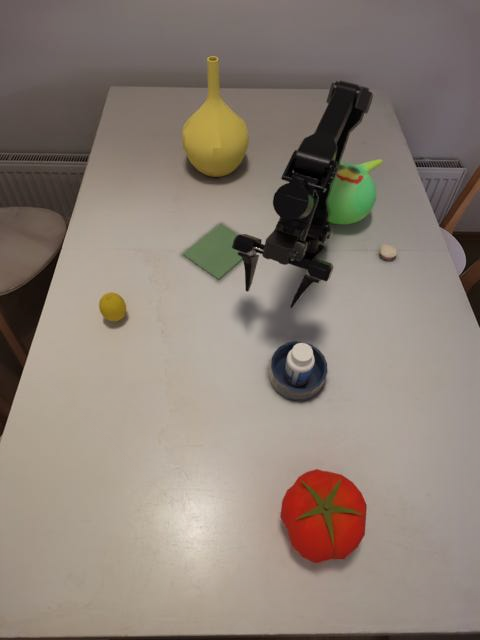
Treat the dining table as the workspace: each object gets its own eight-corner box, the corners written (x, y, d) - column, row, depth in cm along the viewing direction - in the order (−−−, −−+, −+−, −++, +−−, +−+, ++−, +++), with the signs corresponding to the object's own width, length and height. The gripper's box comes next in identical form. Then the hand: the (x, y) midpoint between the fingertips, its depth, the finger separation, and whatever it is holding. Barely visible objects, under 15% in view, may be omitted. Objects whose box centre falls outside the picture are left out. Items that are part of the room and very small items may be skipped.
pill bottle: (312, 367, 90) (320, 344, 82) (306, 390, 87) (313, 368, 79) (287, 359, 91) (292, 336, 83) (280, 381, 88) (285, 359, 80)
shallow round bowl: (291, 342, 94) (293, 331, 90) (333, 373, 90) (338, 363, 86) (258, 377, 89) (259, 367, 85) (302, 411, 85) (305, 402, 81)
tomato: (357, 487, 77) (376, 470, 68) (350, 576, 70) (370, 572, 60) (285, 469, 79) (292, 451, 69) (270, 555, 71) (276, 548, 62)
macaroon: (381, 262, 107) (384, 256, 105) (374, 248, 109) (377, 241, 107) (397, 260, 107) (401, 253, 105) (390, 245, 110) (393, 238, 108)
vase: (259, 160, 128) (266, 54, 103) (225, 195, 119) (223, 88, 94) (208, 139, 133) (203, 33, 108) (172, 171, 124) (157, 64, 99)
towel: (220, 224, 113) (220, 223, 113) (255, 247, 109) (256, 246, 108) (183, 255, 107) (182, 253, 107) (218, 280, 103) (218, 278, 102)
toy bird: (293, 223, 114) (301, 177, 101) (312, 184, 122) (321, 138, 110) (360, 243, 110) (376, 198, 98) (374, 202, 119) (391, 155, 107)
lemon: (124, 329, 95) (116, 309, 88) (100, 325, 95) (90, 304, 89) (132, 309, 98) (125, 288, 91) (109, 305, 98) (100, 283, 92)
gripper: (235, 202, 73) (210, 288, 77) (341, 237, 69) (308, 325, 73) (252, 205, 83) (230, 281, 88) (345, 235, 79) (316, 313, 84)
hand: (268, 299), depth 83 cm, fingers open, 9 cm apart
